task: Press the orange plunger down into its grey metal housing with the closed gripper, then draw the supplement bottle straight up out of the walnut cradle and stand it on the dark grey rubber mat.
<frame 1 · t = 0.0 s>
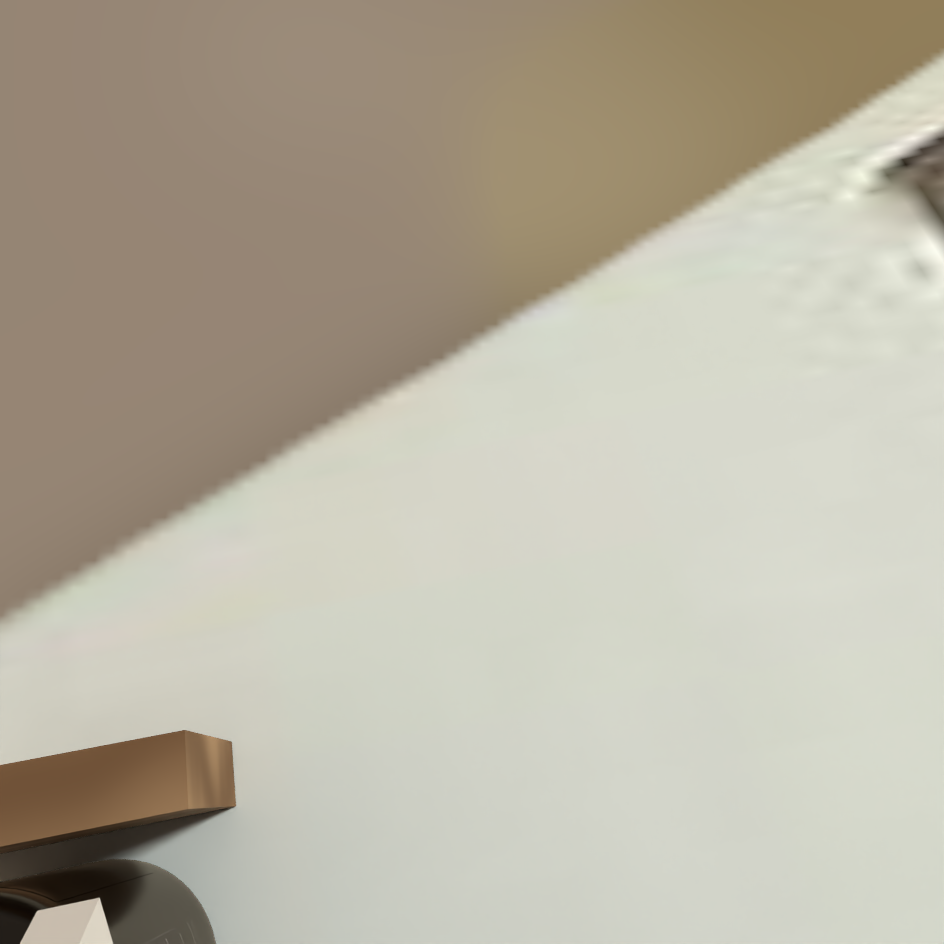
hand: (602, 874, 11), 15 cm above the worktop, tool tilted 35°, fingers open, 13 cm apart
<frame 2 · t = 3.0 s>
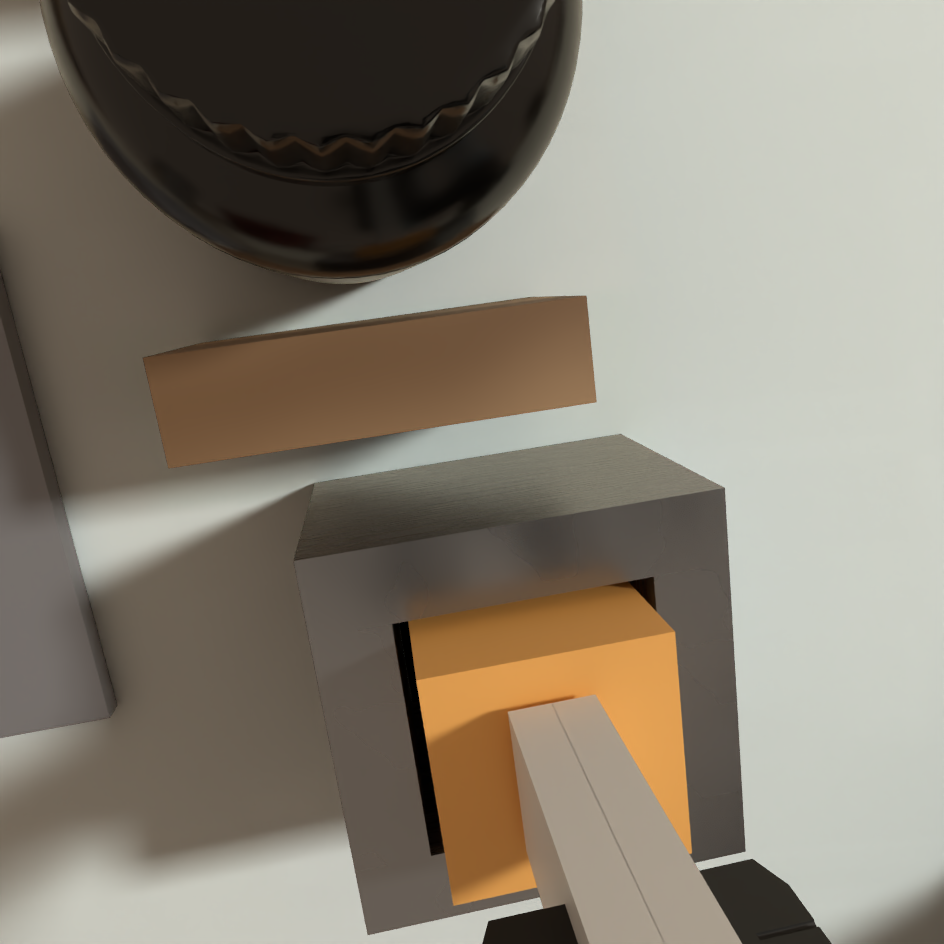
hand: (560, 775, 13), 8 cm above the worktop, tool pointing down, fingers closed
plunger housing: (490, 601, 21), on the worktop
cradle: (339, 135, 18), on the worktop
supplement bottle: (340, 137, 18), on the worktop
plunger: (526, 686, 16), point 5 cm above the worktop, slide at 1.3 cm, touching gripper
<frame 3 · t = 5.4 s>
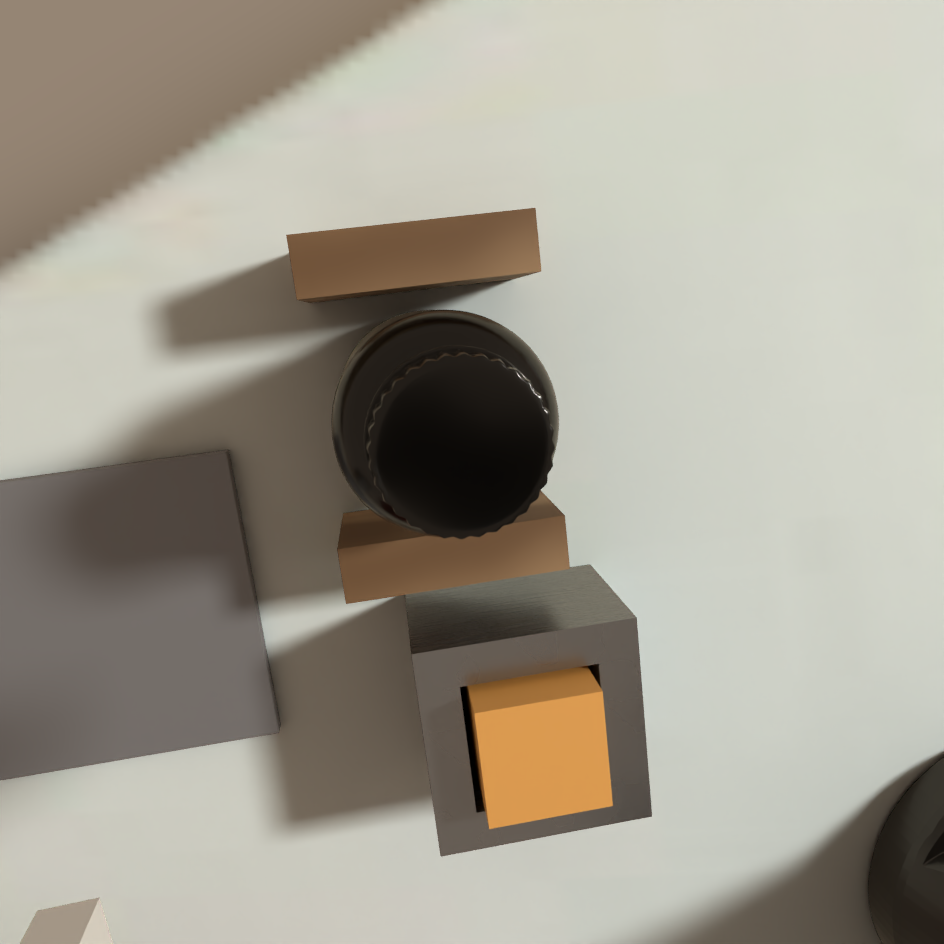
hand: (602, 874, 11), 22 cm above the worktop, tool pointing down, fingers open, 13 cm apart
plunger housing: (508, 665, 33), on the worktop
mat: (104, 616, 31), on the worktop
cradle: (427, 397, 31), on the worktop
supplement bottle: (427, 397, 31), on the worktop
plunger: (528, 716, 29), point 4 cm above the worktop, slide at 1.6 cm
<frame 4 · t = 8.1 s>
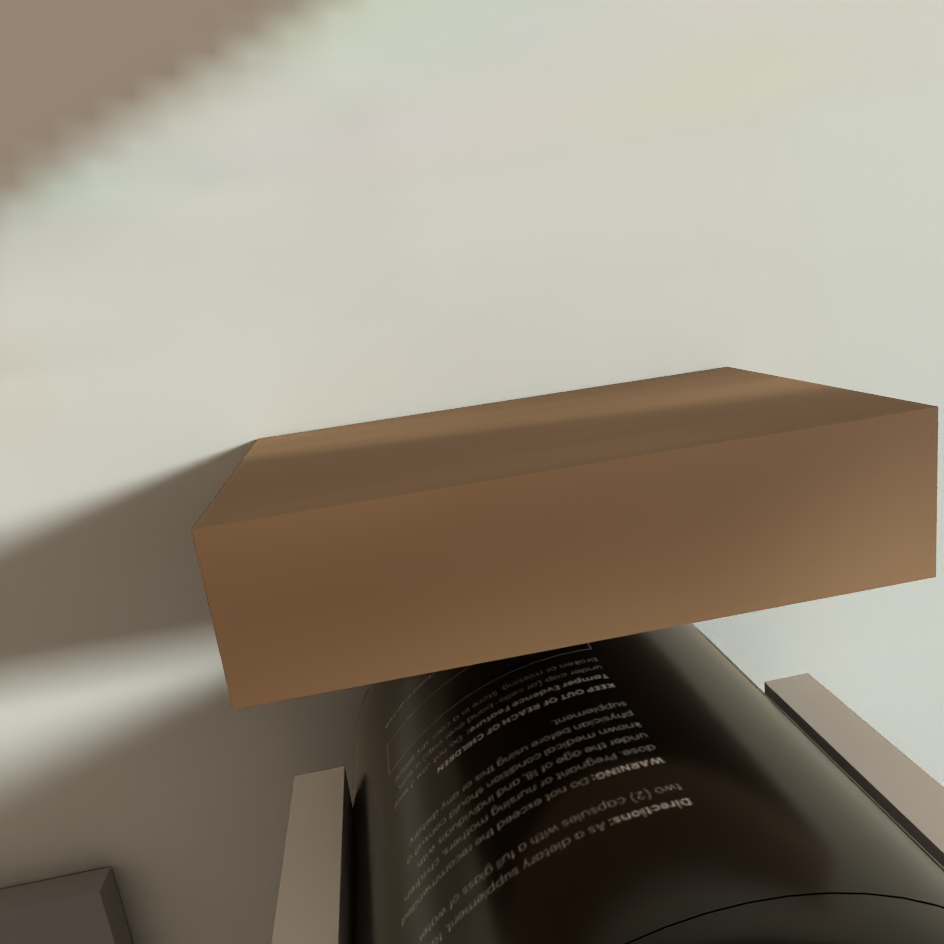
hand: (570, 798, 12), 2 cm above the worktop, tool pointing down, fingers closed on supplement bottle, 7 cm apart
cradle: (541, 729, 14), on the worktop
supplement bottle: (538, 722, 14), on the worktop, touching gripper
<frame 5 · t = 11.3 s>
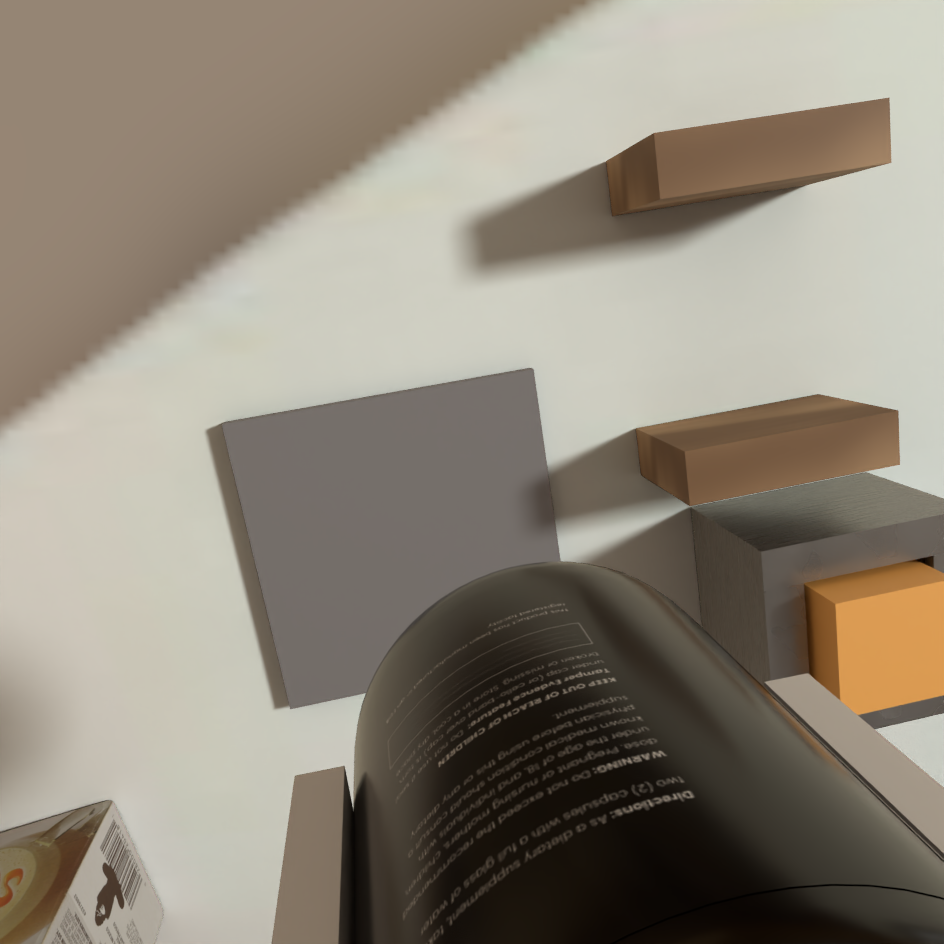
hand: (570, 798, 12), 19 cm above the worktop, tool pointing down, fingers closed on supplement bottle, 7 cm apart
plunger housing: (785, 575, 34), on the worktop
mat: (407, 539, 31), on the worktop
coffee box: (40, 884, 33), on the worktop
cradle: (719, 309, 31), on the worktop
supplement bottle: (539, 719, 14), point 17 cm above the worktop, touching gripper
plunger: (845, 615, 30), point 4 cm above the worktop, slide at 1.6 cm
when the fingers open (4 cm above the worktop, at t = 14.7 s): supplement bottle drops 1 cm, resting on mat.
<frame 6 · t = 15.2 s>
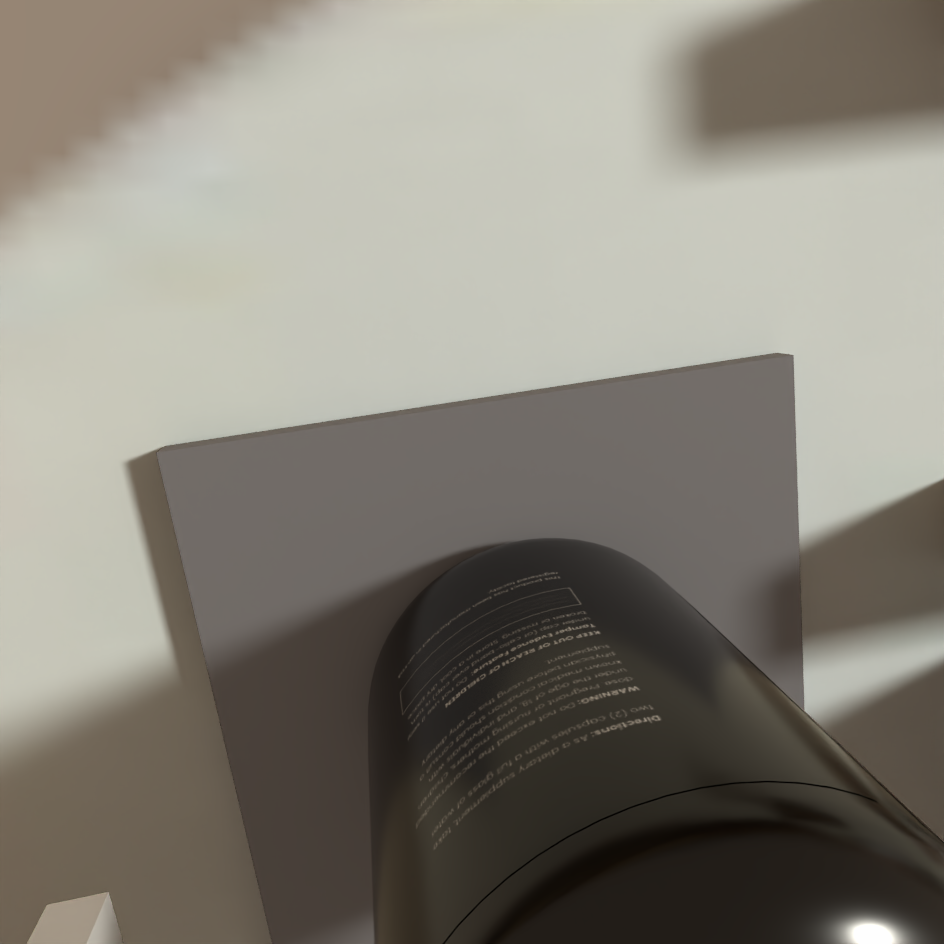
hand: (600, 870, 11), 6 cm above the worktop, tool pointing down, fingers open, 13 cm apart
mat: (520, 677, 16), on the worktop
supplement bottle: (535, 683, 16), resting on mat
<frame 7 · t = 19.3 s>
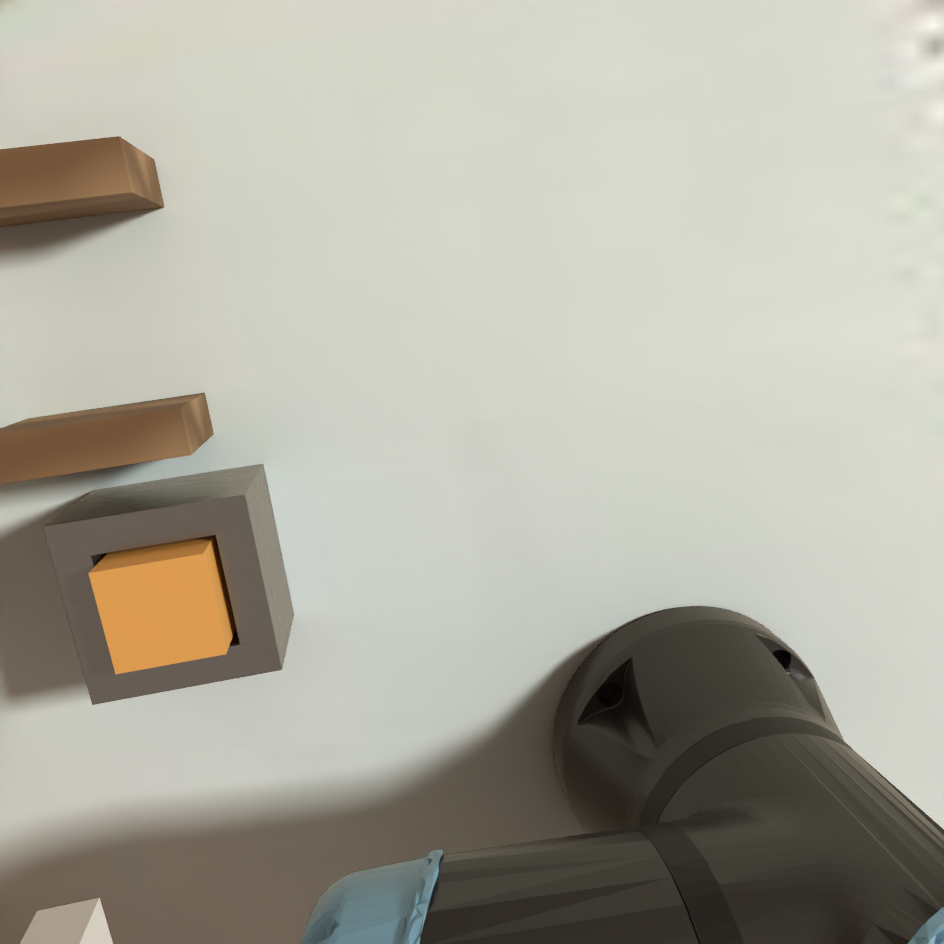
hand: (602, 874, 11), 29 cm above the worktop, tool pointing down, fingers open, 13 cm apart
plunger housing: (197, 554, 38), on the worktop
cradle: (95, 314, 35), on the worktop
plunger: (176, 587, 34), point 4 cm above the worktop, slide at 1.6 cm
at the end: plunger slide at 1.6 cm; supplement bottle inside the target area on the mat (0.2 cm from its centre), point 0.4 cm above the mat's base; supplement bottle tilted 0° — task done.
